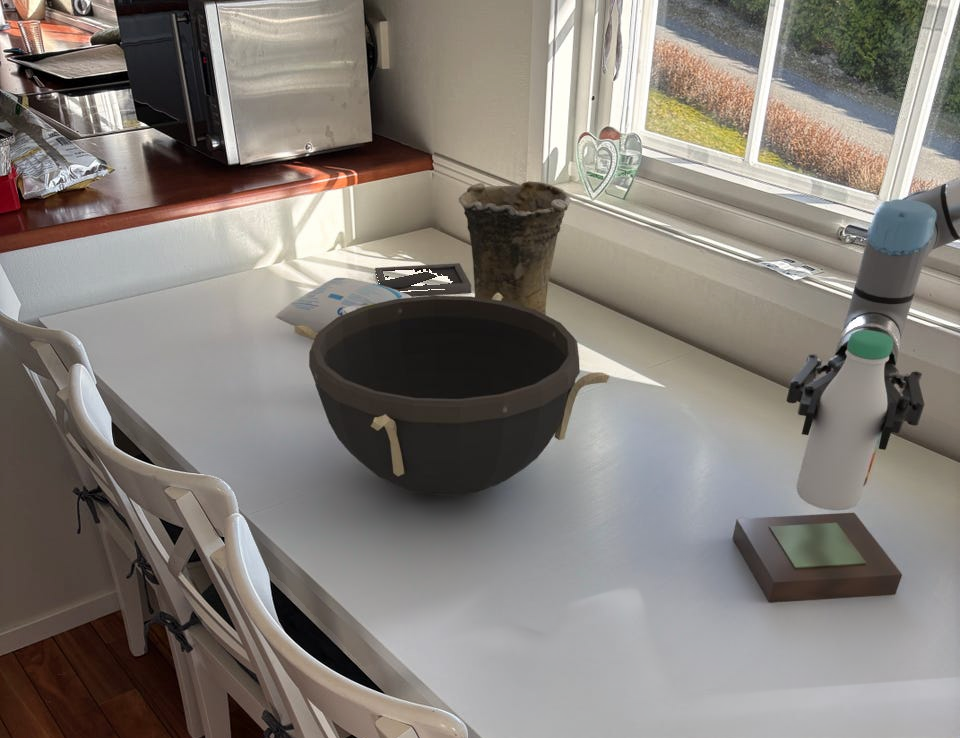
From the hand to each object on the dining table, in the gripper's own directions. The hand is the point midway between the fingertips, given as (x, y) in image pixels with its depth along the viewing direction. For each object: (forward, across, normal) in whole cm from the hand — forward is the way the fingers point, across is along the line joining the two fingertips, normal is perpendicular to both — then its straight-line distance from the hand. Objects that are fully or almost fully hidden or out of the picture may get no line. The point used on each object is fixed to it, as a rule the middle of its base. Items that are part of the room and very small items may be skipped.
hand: (846, 430), depth 106 cm
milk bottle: (-5, 0, -11) cm, 12 cm away
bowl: (-4, +51, -20) cm, 55 cm away
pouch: (-46, +90, -20) cm, 103 cm away
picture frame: (-74, +88, -20) cm, 116 cm away
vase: (-49, +59, -20) cm, 80 cm away
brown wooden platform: (-3, 0, -20) cm, 20 cm away
